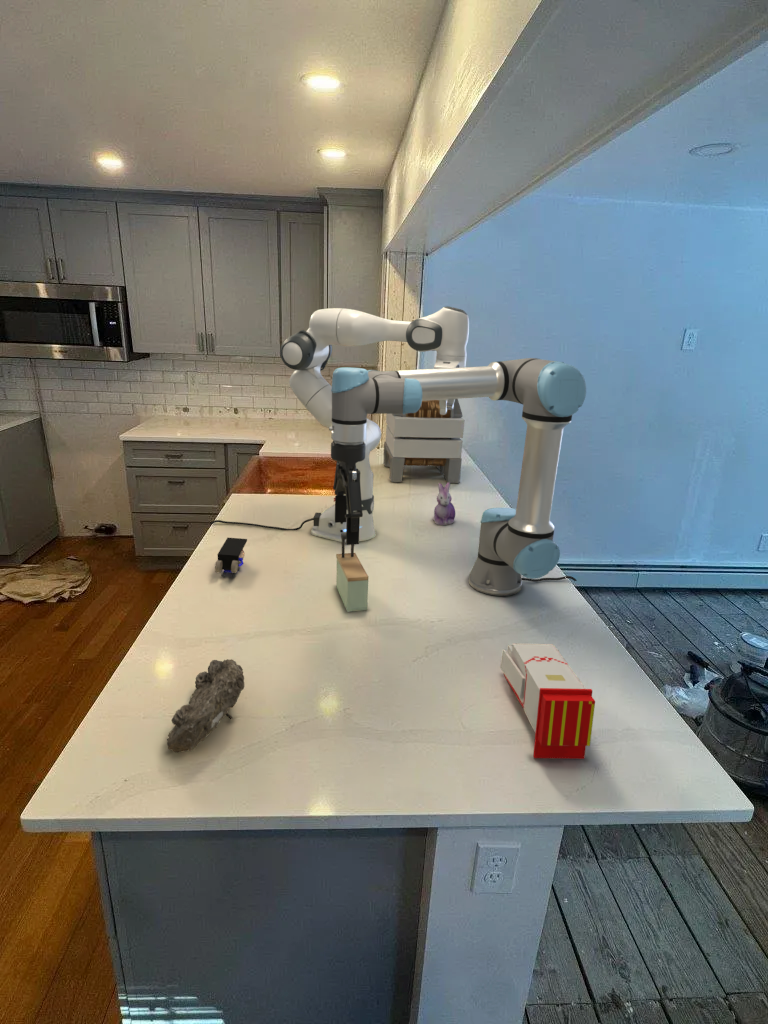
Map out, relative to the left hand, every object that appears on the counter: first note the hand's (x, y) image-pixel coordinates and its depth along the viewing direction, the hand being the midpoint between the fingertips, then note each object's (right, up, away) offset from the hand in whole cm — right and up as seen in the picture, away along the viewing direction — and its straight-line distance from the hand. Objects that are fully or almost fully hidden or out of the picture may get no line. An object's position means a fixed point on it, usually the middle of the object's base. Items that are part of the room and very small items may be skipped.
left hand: (446, 411), depth 173 cm
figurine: (+3, -34, +41) cm, 53 cm away
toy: (+12, -70, -58) cm, 92 cm away
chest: (-28, -54, -18) cm, 63 cm away
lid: (-28, -46, -21) cm, 57 cm away
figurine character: (-64, -48, -5) cm, 80 cm away
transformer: (-2, -12, +102) cm, 103 cm away
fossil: (-52, -70, -65) cm, 108 cm away
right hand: (-28, -35, -43) cm, 62 cm away
